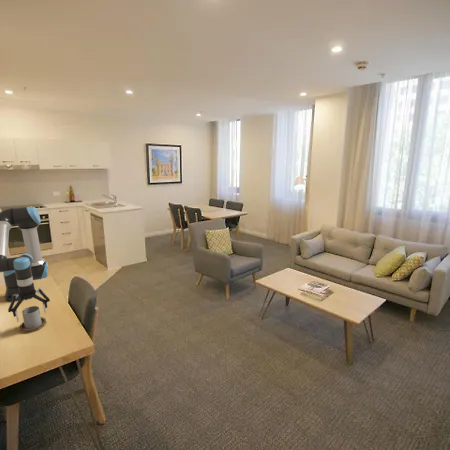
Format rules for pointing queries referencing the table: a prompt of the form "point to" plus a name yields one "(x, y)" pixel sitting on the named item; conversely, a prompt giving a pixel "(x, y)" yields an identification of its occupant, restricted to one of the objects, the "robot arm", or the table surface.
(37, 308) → the cup
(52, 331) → the table surface
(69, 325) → the table surface
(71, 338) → the table surface
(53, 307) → the table surface
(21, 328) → the tray
